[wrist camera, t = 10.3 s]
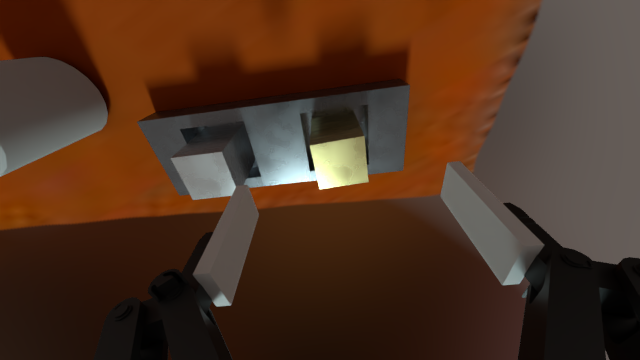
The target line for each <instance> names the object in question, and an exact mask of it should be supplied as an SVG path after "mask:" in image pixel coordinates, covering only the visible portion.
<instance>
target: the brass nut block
mask: <svg viewBox="0 0 640 360" xmlns="http://www.w3.org/2000/svg"><path fill="white" fill-rule="evenodd" d="M310 149H311V154H312V158H313V162H314V167H315V171H316V175H317V180H318V184H319V188H320V189H325V188H332V187H338V186H345V185H351V184H357V183H364V182H368V171H367V160H366V148H365V136H364V134H363V131H362V129H361V127H360V125H359V122H358V120H357V118H356V115H355V113H354V111H353V110H352V111H347V112H341V113H336V114H331V115H325V116H320V117H315V118H312V119H311V133H310Z"/></svg>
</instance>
